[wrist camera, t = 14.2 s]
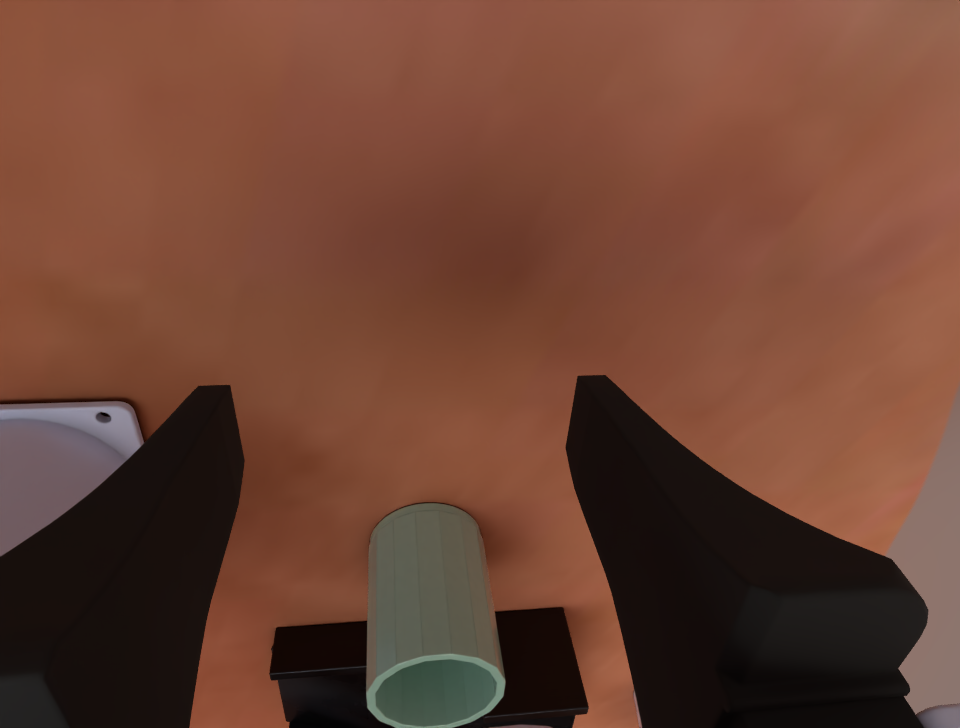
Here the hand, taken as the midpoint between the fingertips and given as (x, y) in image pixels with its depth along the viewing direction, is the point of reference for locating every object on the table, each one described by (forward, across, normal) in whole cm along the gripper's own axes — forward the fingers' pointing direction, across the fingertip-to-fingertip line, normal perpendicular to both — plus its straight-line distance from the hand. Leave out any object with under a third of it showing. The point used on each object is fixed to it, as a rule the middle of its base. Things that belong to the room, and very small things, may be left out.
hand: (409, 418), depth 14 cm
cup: (+10, -1, +16) cm, 19 cm away
